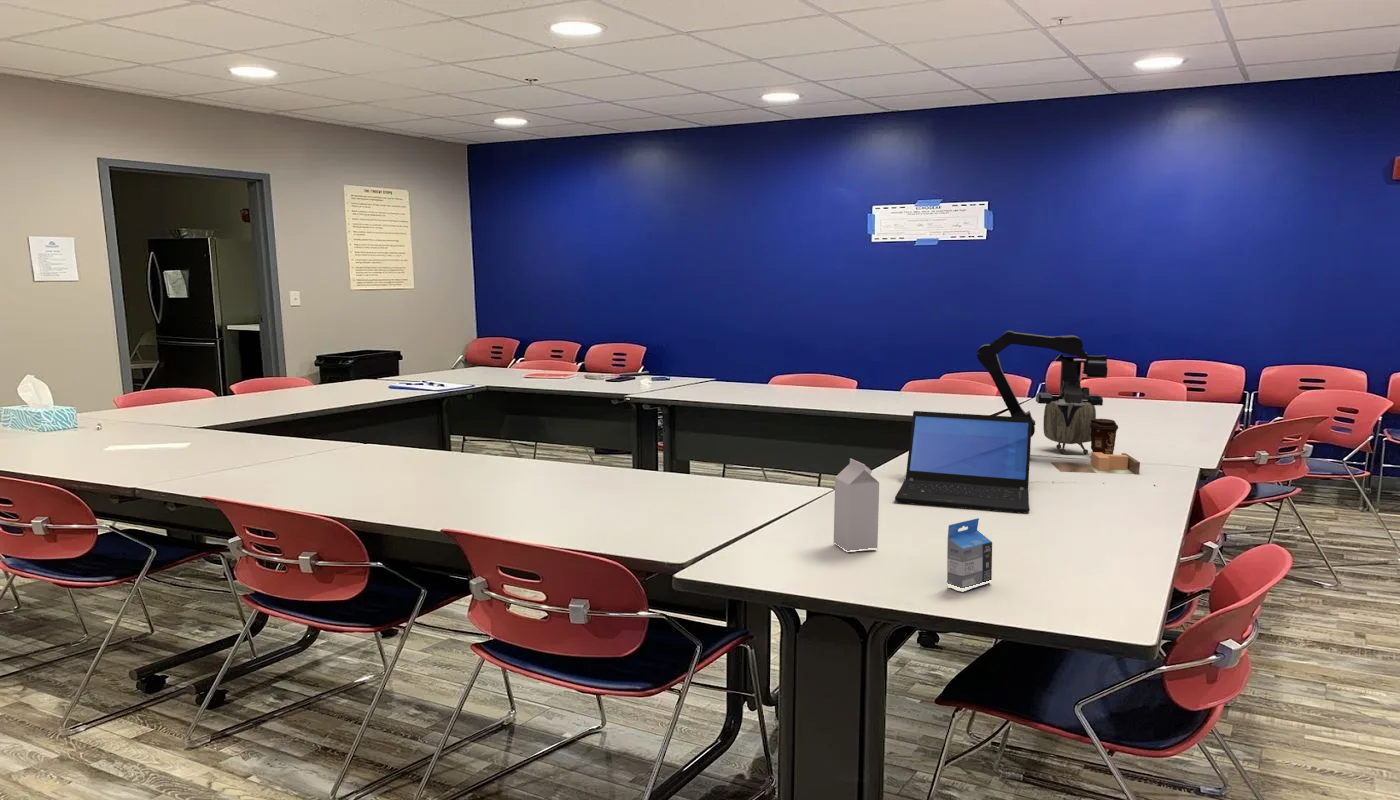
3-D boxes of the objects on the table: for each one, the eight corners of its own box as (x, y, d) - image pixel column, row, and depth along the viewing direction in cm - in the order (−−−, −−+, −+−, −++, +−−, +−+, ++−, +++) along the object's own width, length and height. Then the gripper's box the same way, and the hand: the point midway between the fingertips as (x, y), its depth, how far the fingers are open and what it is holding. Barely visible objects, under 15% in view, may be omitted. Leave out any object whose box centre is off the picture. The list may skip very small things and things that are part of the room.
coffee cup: (1081, 459, 303) (1083, 418, 301) (1099, 456, 306) (1102, 417, 304) (1102, 464, 295) (1105, 422, 293) (1122, 461, 298) (1124, 421, 296)
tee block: (1098, 471, 279) (1099, 457, 279) (1090, 464, 288) (1091, 452, 288) (1130, 472, 278) (1131, 458, 277) (1121, 465, 287) (1122, 453, 286)
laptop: (893, 504, 244) (895, 430, 241) (910, 475, 279) (912, 410, 276) (1029, 516, 233) (1033, 438, 230) (1029, 484, 268) (1032, 416, 265)
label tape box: (962, 593, 175) (964, 529, 174) (944, 587, 178) (947, 524, 177) (992, 584, 180) (995, 522, 179) (974, 579, 184) (977, 517, 182)
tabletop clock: (1094, 455, 309) (1098, 379, 306) (1075, 457, 305) (1080, 380, 302) (1057, 447, 322) (1061, 374, 318) (1039, 450, 317) (1043, 376, 314)
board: (1060, 474, 278) (1061, 459, 278) (1049, 465, 292) (1050, 451, 292) (1139, 477, 275) (1139, 462, 275) (1124, 467, 289) (1125, 453, 288)
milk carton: (847, 553, 200) (849, 465, 197) (833, 544, 206) (835, 459, 204) (877, 551, 202) (880, 464, 199) (862, 542, 208) (865, 457, 206)
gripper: (1043, 378, 284) (1040, 429, 286) (1108, 380, 281) (1105, 432, 283) (1036, 374, 295) (1033, 423, 297) (1100, 376, 291) (1096, 426, 294)
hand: (1067, 426), depth 292 cm, fingers closed
